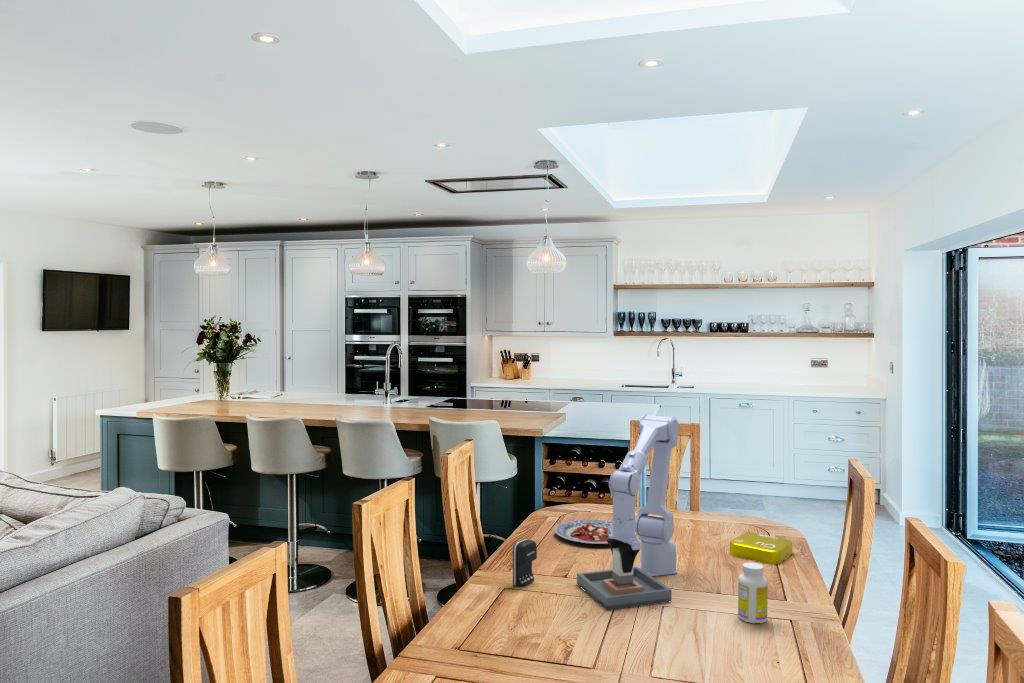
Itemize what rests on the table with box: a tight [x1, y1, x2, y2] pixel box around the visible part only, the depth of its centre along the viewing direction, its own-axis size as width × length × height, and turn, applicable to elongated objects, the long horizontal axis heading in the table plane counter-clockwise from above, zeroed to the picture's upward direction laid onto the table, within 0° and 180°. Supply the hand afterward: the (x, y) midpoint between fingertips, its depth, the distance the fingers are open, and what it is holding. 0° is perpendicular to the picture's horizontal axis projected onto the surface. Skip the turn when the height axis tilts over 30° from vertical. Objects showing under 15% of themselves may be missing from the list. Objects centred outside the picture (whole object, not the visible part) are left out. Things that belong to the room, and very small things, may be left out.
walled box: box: [576, 566, 672, 611], centre depth 186 cm, size 18×18×3 cm
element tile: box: [729, 531, 793, 565], centre depth 219 cm, size 15×15×5 cm
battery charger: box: [512, 538, 538, 587], centre depth 193 cm, size 7×4×11 cm, turn 143°
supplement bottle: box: [737, 562, 769, 624], centre depth 171 cm, size 7×7×13 cm
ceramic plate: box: [554, 519, 613, 545], centre depth 235 cm, size 26×26×3 cm
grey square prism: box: [611, 548, 635, 584], centre depth 186 cm, size 4×4×8 cm
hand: (623, 569), depth 186 cm, fingers closed on grey square prism, 4 cm apart
